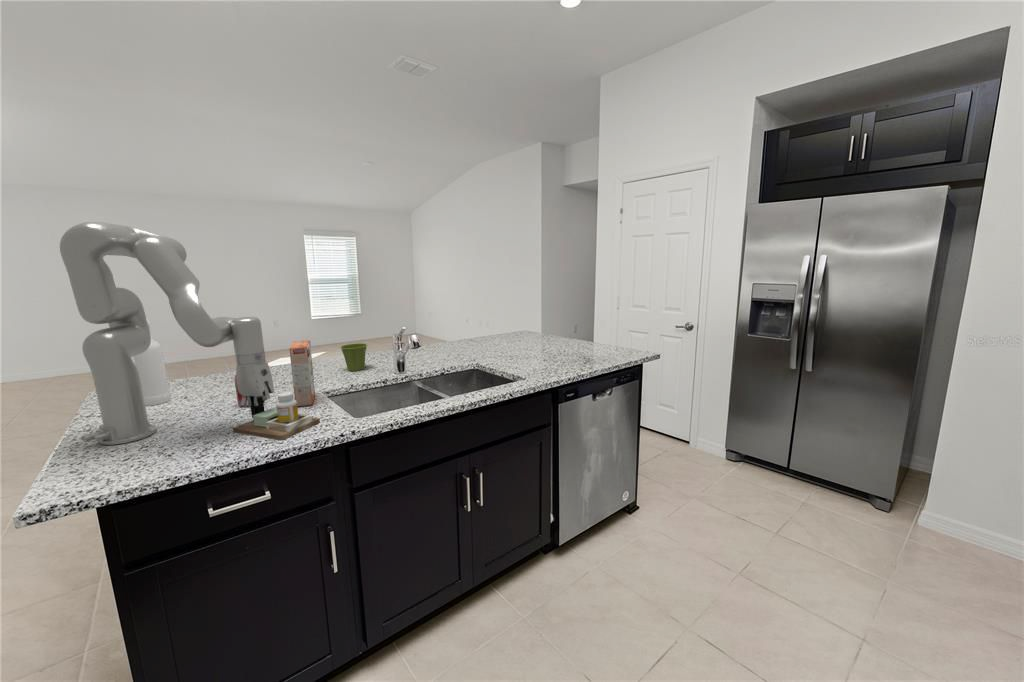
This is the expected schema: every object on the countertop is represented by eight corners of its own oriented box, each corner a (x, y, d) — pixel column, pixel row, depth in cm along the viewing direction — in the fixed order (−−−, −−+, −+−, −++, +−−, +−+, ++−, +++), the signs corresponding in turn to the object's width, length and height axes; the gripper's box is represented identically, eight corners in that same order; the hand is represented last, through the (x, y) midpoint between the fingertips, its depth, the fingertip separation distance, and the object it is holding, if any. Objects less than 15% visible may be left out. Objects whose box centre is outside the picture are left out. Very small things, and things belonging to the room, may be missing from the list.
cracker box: (314, 405, 147) (307, 346, 143) (295, 407, 145) (287, 347, 141) (316, 394, 160) (310, 339, 156) (298, 396, 158) (292, 340, 154)
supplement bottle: (294, 420, 130) (290, 390, 128) (302, 424, 127) (298, 393, 125) (275, 425, 126) (271, 394, 124) (283, 430, 123) (279, 398, 121)
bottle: (136, 405, 151) (120, 321, 145) (159, 398, 158) (145, 318, 153) (154, 406, 149) (138, 321, 143) (176, 399, 157) (162, 318, 151)
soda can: (250, 408, 146) (245, 374, 144) (233, 406, 147) (228, 373, 145) (266, 401, 153) (261, 368, 150) (249, 400, 154) (244, 368, 152)
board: (281, 440, 119) (280, 429, 118) (233, 431, 125) (231, 421, 125) (320, 422, 131) (318, 412, 131) (274, 415, 138) (273, 406, 137)
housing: (266, 427, 124) (265, 417, 124) (254, 425, 126) (252, 415, 125) (289, 417, 131) (288, 408, 131) (277, 416, 133) (276, 406, 133)
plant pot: (363, 365, 204) (361, 342, 202) (373, 369, 195) (371, 345, 193) (338, 369, 197) (336, 345, 194) (347, 374, 188) (345, 349, 185)
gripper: (280, 357, 128) (287, 415, 131) (244, 354, 133) (252, 410, 136) (257, 363, 121) (265, 424, 124) (221, 359, 126) (229, 418, 130)
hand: (258, 416), depth 130 cm, fingers closed
